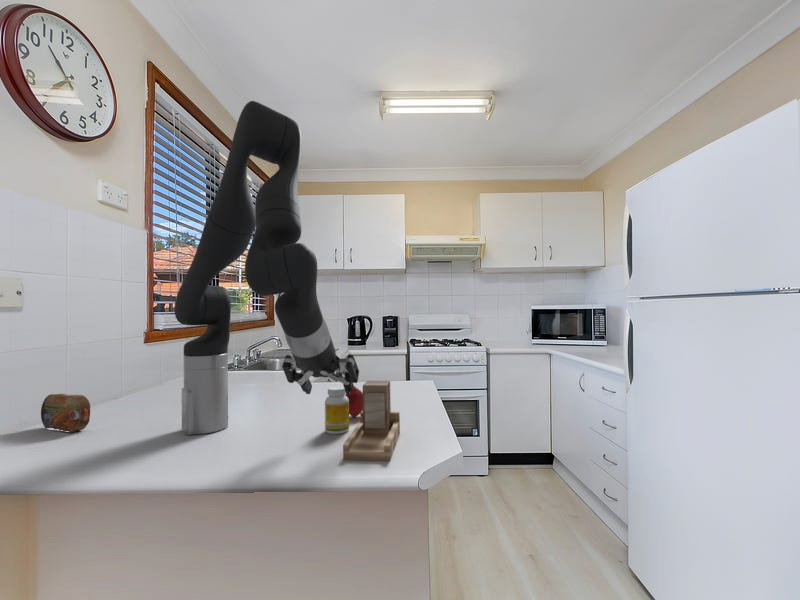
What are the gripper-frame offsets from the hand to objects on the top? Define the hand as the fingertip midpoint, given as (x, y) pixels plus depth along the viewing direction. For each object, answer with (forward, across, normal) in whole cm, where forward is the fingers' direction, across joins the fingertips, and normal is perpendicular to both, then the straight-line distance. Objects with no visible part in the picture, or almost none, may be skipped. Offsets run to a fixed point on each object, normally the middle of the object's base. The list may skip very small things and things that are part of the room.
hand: (329, 390), depth 82 cm
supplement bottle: (+12, 0, +3) cm, 12 cm away
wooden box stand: (+5, -10, +9) cm, 14 cm away
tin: (+10, +65, +5) cm, 66 cm away
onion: (+20, -1, -5) cm, 20 cm away
